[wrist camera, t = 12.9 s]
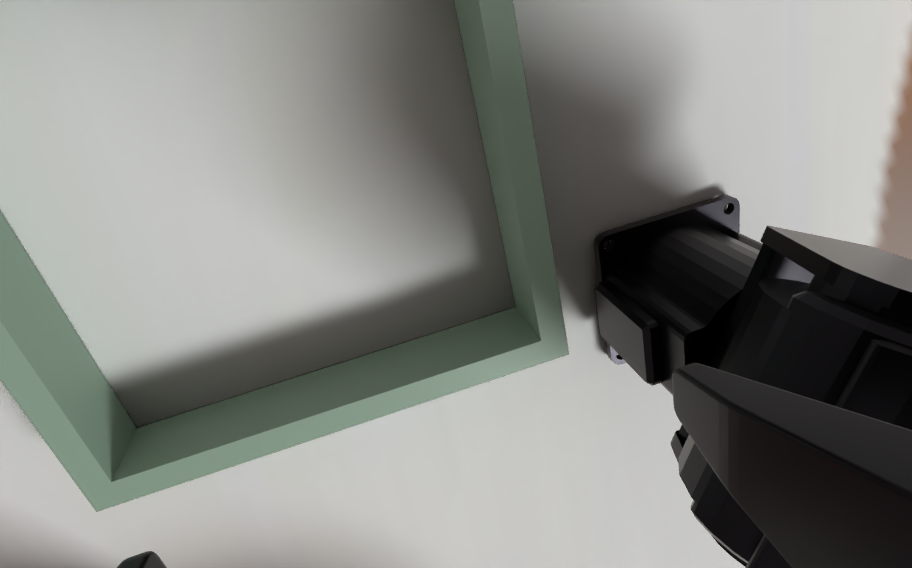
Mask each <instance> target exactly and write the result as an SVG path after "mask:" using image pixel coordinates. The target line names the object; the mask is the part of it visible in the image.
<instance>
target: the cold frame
mask: <svg viewBox="0 0 912 568" xmlns="http://www.w3.org/2000/svg"><path fill="white" fill-rule="evenodd" d="M454 4H455V9H456V14H457V19H458V24H459V29H460V34H461V39H462V43H463V48H464V53H465V58H466V63H467V68H468V73H469V78H470V83H471V88H472V93H473V98H474V103H475V108H476V113H477V118H478V123H479V128H480V133H481V137H482V142H483V147H484V152H485V157H486V162H487V167H488V172H489V177H490V182H491V187H492V192H493V197H494V202H495V207H496V212H497V217H498V222H499V227H500V231H501V236H502V241H503V246H504V251H505V256H506V261H507V266H508V271H509V276H510V281H511V286H512V291H513V296H514V301H515V306H516V307H514V308H511V309H508V310H505V311H502V312H499V313H495V314H492V315H489V316H486V317H483V318H480V319H477V320H474V321H470V322H467V323H464V324H461V325H458V326H455V327H452V328H448V329H445V330H442V331H439V332H436V333H433V334H430V335H427V336H423V337H420V338H417V339H414V340H411V341H408V342H405V343H402V344H398V345H395V346H392V347H389V348H386V349H383V350H380V351H376V352H373V353H370V354H367V355H364V356H361V357H358V358H355V359H351V360H348V361H345V362H342V363H339V364H336V365H333V366H330V367H326V368H323V369H320V370H317V371H314V372H311V373H308V374H304V375H301V376H298V377H295V378H292V379H289V380H286V381H283V382H279V383H276V384H273V385H270V386H267V387H264V388H261V389H258V390H254V391H251V392H248V393H245V394H242V395H239V396H236V397H232V398H229V399H226V400H223V401H220V402H217V403H214V404H211V405H207V406H204V407H201V408H198V409H195V410H192V411H189V412H186V413H182V414H179V415H176V416H173V417H170V418H167V419H164V420H161V421H157V422H154V423H151V424H148V425H145V426H142V427H139V428H136V426H135V425H134V423H133V422H132V420H131V418H130V417H129V415H128V414H127V412H126V410H125V409H124V407H123V406H122V404H121V402H120V401H119V399H118V398H117V396H116V394H115V393H114V391H113V390H112V388H111V386H110V385H109V383H108V382H107V380H106V378H105V377H104V375H103V374H102V372H101V370H100V369H99V367H98V366H97V364H96V362H95V361H94V359H93V358H92V356H91V354H90V353H89V351H88V350H87V348H86V346H85V345H84V343H83V342H82V340H81V338H80V337H79V335H78V334H77V332H76V330H75V329H74V327H73V326H72V324H71V322H70V321H69V319H68V318H67V316H66V314H65V313H64V311H63V310H62V308H61V306H60V305H59V303H58V302H57V300H56V298H55V297H54V295H53V294H52V292H51V290H50V289H49V287H48V286H47V284H46V282H45V281H44V279H43V278H42V276H41V274H40V273H39V271H38V270H37V268H36V266H35V265H34V263H33V262H32V260H31V258H30V257H29V255H28V253H27V252H26V250H25V249H24V247H23V245H22V244H21V242H20V241H19V239H18V237H17V236H16V234H15V233H14V231H13V229H12V228H11V226H10V225H9V223H8V221H7V220H6V218H5V217H4V215H3V213H2V212H1V210H0V380H1V382H2V383H3V385H4V386H5V387H6V389H7V390H8V391H9V393H10V394H11V396H12V397H13V398H14V400H15V401H16V402H17V404H18V405H19V406H20V408H21V409H22V411H23V412H24V413H25V415H26V416H27V417H28V419H29V420H30V422H31V423H32V424H33V426H34V427H35V428H36V430H37V431H38V433H39V434H40V435H41V437H42V438H43V439H44V441H45V442H46V443H47V445H48V446H49V448H50V449H51V450H52V452H53V453H54V454H55V456H56V457H57V459H58V460H59V461H60V463H61V464H62V465H63V467H64V468H65V469H66V471H67V472H68V474H69V475H70V476H71V478H72V479H73V480H74V482H75V483H76V485H77V486H78V487H79V489H80V490H81V491H82V493H83V494H84V496H85V497H86V498H87V500H88V501H89V502H90V504H91V505H92V506H93V508H94V509H95V511H96V512H98V511H101V510H104V509H107V508H110V507H113V506H116V505H119V504H122V503H125V502H128V501H131V500H134V499H137V498H140V497H143V496H146V495H149V494H152V493H155V492H158V491H161V490H164V489H167V488H170V487H173V486H176V485H179V484H182V483H185V482H188V481H191V480H194V479H197V478H200V477H203V476H206V475H209V474H212V473H215V472H218V471H221V470H224V469H227V468H230V467H233V466H236V465H239V464H242V463H245V462H248V461H251V460H254V459H257V458H260V457H263V456H266V455H269V454H272V453H275V452H278V451H281V450H283V449H286V448H289V447H292V446H295V445H298V444H301V443H304V442H307V441H310V440H313V439H316V438H319V437H322V436H325V435H328V434H331V433H334V432H337V431H340V430H343V429H346V428H349V427H352V426H355V425H358V424H361V423H364V422H367V421H370V420H373V419H376V418H379V417H382V416H385V415H388V414H391V413H394V412H397V411H400V410H403V409H406V408H409V407H412V406H415V405H418V404H421V403H424V402H427V401H430V400H433V399H436V398H439V397H442V396H445V395H448V394H451V393H454V392H457V391H460V390H463V389H466V388H469V387H472V386H475V385H478V384H481V383H484V382H487V381H490V380H493V379H496V378H499V377H502V376H505V375H508V374H511V373H514V372H517V371H520V370H523V369H526V368H529V367H532V366H535V365H538V364H541V363H544V362H547V361H550V360H553V359H556V358H559V357H562V356H565V355H568V354H569V350H568V344H567V338H566V331H565V325H564V319H563V313H562V306H561V300H560V294H559V288H558V281H557V275H556V269H555V262H554V256H553V250H552V244H551V237H550V231H549V225H548V219H547V212H546V206H545V200H544V194H543V187H542V181H541V175H540V168H539V162H538V156H537V150H536V143H535V137H534V131H533V125H532V118H531V112H530V106H529V100H528V93H527V87H526V81H525V74H524V68H523V62H522V56H521V49H520V43H519V37H518V31H517V24H516V18H515V12H514V6H513V0H454Z"/></svg>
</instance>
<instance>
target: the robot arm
mask: <svg viewBox="0 0 912 568" xmlns="http://www.w3.org/2000/svg"><path fill="white" fill-rule="evenodd" d="M727 204H728V208H727V209H726V210H725V211H724V207H725V206H726V205H727ZM739 211H740V205H739V201H738V200H737V199H736V198H733V197H731V196H728V195H722V196H719V197H716V198H713V199H709V200H706V201H703V202H700V203H696V204H693V205H690V206H687V207H683V208H680V209H677V210H674V211H671V212H667V213H664V214H661V215H658V216H654V217H651V218H648V219H645V220H641V221H638V222H635V223H632V224H629V225H625V226H622V227H619V228H616V229H612V230H609V231H606V232H603V233H601V234H600V235H599V236H598V237H597V238H596V240H595V242H594V249H595V257H596V265H597V274H598V283H597V285H596V287H595V297H596V305H597V313H598V321H599V329H600V335H601V336H602V337H603V339H604V340H605V341H606V347H607V354H608V357H609V358H610V359H611V360H612V361H613V362H614V363H615V364H623V363H626V362H627V363H628V364H629V365H630V366H631V367H632V368H633V369H634V371H635V372H636V373H637V374H638V375H639V376H640V377H641V378H642V379H643V380H644V381H645V382H647V383H649V384H651V385H652V386H653V385H656V384H659V383H661V384H662V385H663V386H664V387H665V388H666V389H667V390H668V391H669V392H670V393H671V394H672V395H673V401H674V409H675V412H676V415H677V417H678V419H679V420H680V422H681V423H682V426H681V428H680V430H678V431H676V432H675V434H674V437H673V439H672V441H671V446H672V449H673V451H674V454H675V456H676V458H677V461H678V463H679V474H680V477H681V479H682V480H683V482H684V484H685V486H686V488H687V490H688V492H689V494H690V495H691V497H692V498H693V500H694V501H693V503H692V505H691V510H692V512H693V514H694V516H695V517H696V519H697V520H698V521H699V522H700V523H701V524H702V525H703V527H704V528H705V529H706V530H707V531H708V532H709V533H710V534H711V535H712V537H713V538H714V539H715V540H716V542H717V543H718V544H719V545H720V546H721V547H722V548H723V549H724V550H725V551H726V552H727V553H729V554H730V555H731V556H732V557H733V558H735V559H736V560H737V561H739V562H740V563H741V564H743V565H744V566H745V567H746V568H912V260H910V259H907V258H904V257H901V256H898V255H895V254H892V253H889V252H886V251H883V250H880V249H877V248H874V247H870V246H866V245H861V244H856V243H851V242H846V241H841V240H836V239H831V238H826V237H822V236H817V235H812V234H807V233H802V232H797V231H792V230H787V229H782V228H777V227H772V226H767V227H766V229H765V232H764V234H763V236H762V238H761V242H762V243H763V244H762V243H759V242H757V241H755V240H753V239H751V238H748V237H746V236H744V235H742V234H739ZM609 240H611V244H610V246H609V247H608V248H606V249H604V245H605V243H606V242H607V241H609ZM617 353H618V354H619V355H617ZM117 568H166V566H165V565H164V563H163V562H162V561H161V559H160V558H159V556H158V555H157V554H156V553H154V552H152V551H148V552H144V553H141V554H139V555H136V556H133V557H130V558H128V559H126V560H124V561H123V562H122V563H121V564H120V565H119V566H118V567H117Z"/></svg>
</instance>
